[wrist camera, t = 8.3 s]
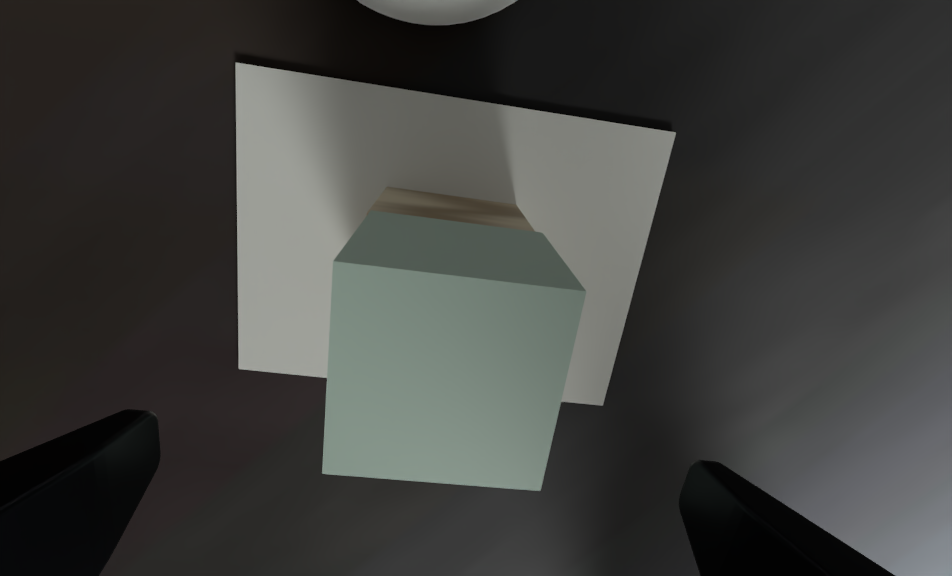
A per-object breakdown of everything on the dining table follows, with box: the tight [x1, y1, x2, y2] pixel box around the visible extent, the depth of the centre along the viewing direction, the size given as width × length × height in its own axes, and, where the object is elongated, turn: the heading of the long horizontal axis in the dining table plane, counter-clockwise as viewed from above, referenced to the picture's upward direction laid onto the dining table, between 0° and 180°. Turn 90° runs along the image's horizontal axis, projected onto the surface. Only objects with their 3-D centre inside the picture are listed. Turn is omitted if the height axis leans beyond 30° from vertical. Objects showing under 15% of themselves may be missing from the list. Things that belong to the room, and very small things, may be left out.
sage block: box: [322, 210, 586, 491], centre depth 13 cm, size 5×5×5 cm
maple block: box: [367, 187, 535, 232], centre depth 18 cm, size 5×5×5 cm
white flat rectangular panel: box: [236, 63, 676, 406], centre depth 20 cm, size 16×12×1 cm
